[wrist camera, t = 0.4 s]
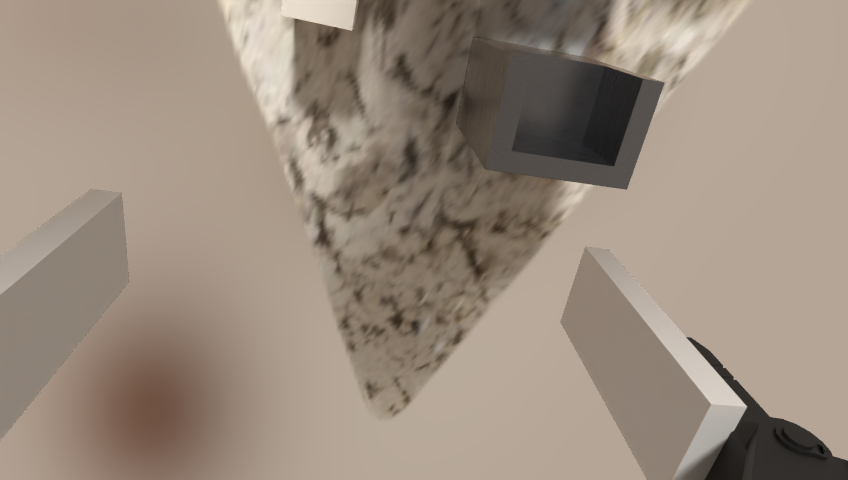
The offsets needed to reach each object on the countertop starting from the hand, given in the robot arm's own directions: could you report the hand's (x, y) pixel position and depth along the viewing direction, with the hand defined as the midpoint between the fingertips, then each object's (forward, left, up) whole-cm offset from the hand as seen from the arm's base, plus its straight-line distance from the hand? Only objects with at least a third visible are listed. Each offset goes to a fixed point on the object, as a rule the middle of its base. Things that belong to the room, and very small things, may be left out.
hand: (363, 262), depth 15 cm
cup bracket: (-2, +11, -25) cm, 27 cm away
